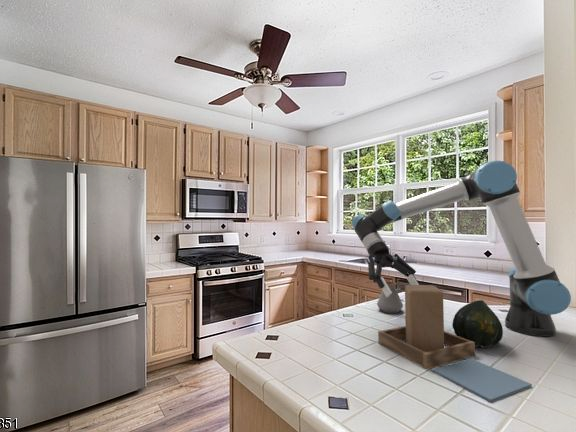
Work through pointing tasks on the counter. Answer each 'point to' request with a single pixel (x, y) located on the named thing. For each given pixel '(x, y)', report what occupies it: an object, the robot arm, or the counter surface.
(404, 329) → the walnut frame
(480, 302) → the squash
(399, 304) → the coffee pot
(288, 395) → the counter surface
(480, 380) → the rubber mat
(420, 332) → the block
